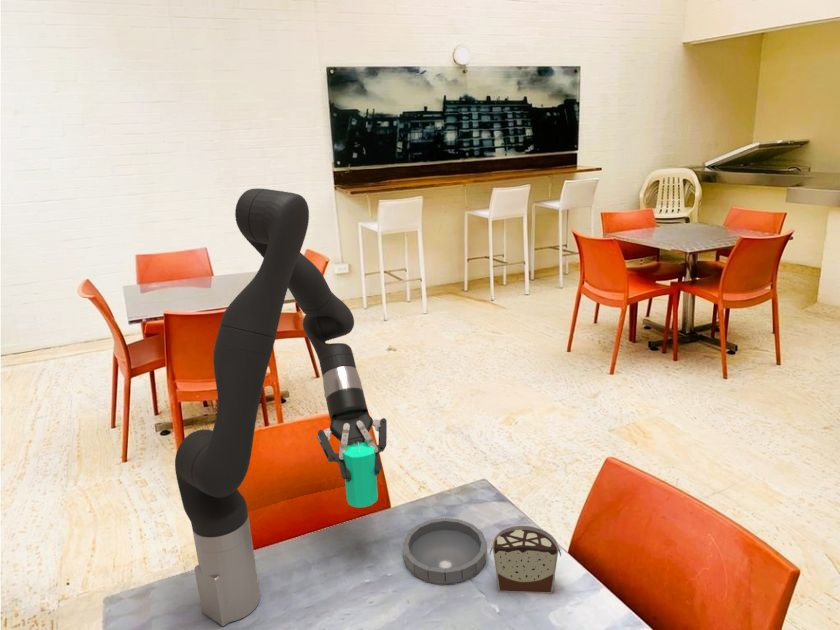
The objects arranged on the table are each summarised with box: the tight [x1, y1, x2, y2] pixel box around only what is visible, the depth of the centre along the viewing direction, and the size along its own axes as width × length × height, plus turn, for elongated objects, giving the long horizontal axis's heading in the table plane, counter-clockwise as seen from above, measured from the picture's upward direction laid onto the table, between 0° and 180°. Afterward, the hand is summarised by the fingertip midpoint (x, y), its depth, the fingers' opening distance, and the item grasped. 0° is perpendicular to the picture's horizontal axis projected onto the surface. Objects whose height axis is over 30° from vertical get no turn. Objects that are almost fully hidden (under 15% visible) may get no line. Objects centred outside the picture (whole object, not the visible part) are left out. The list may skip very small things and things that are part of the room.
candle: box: [343, 442, 379, 508], centre depth 113 cm, size 6×6×12 cm
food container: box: [489, 525, 562, 595], centre depth 108 cm, size 12×6×10 cm, turn 84°
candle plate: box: [402, 517, 488, 586], centre depth 116 cm, size 16×16×3 cm
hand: (363, 477), depth 111 cm, fingers closed on candle, 5 cm apart
